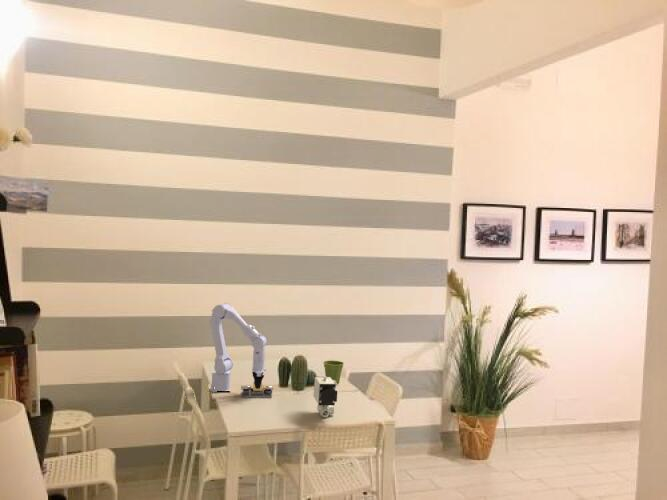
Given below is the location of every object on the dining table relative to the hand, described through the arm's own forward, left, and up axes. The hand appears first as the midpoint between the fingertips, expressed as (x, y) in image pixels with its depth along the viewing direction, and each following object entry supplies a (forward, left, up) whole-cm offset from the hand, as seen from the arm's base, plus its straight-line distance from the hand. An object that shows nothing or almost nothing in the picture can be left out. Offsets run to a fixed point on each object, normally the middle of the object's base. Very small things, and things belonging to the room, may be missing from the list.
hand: (257, 387), depth 303 cm
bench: (0, 0, -4) cm, 4 cm away
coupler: (0, 0, -3) cm, 3 cm away
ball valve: (+29, -32, -4) cm, 43 cm away
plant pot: (+43, +25, -4) cm, 50 cm away
